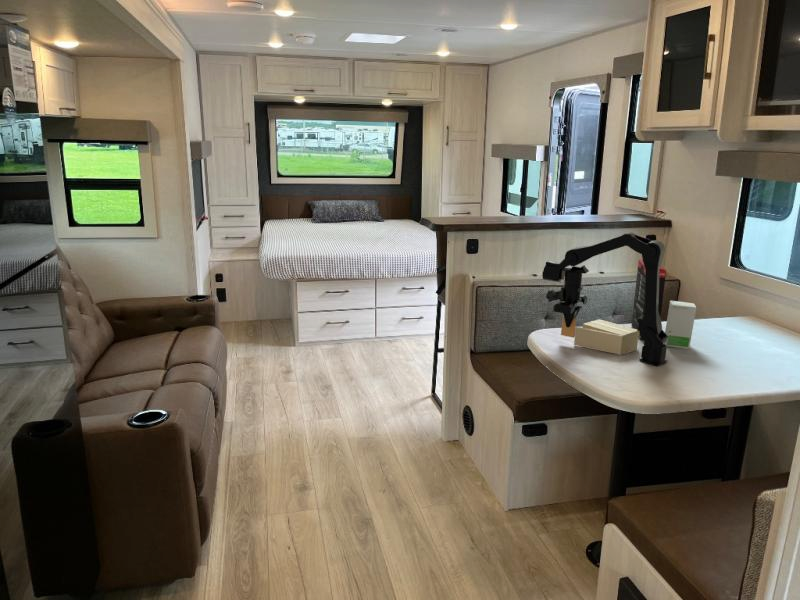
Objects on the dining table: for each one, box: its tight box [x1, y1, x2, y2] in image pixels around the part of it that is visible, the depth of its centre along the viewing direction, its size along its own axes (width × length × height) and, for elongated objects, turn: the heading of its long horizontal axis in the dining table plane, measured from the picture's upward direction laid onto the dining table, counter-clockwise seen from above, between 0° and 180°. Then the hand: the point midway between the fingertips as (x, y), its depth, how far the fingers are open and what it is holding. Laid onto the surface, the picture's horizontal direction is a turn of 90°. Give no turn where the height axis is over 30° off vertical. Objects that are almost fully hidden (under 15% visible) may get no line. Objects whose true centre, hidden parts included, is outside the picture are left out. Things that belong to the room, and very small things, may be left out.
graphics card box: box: [631, 259, 667, 341], centre depth 221 cm, size 17×7×27 cm, turn 171°
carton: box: [582, 319, 639, 356], centre depth 209 cm, size 16×10×7 cm, turn 38°
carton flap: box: [560, 315, 623, 356], centre depth 206 cm, size 21×1×10 cm, turn 55°
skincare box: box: [664, 300, 697, 350], centre depth 210 cm, size 8×7×16 cm
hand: (568, 326), depth 210 cm, fingers closed
